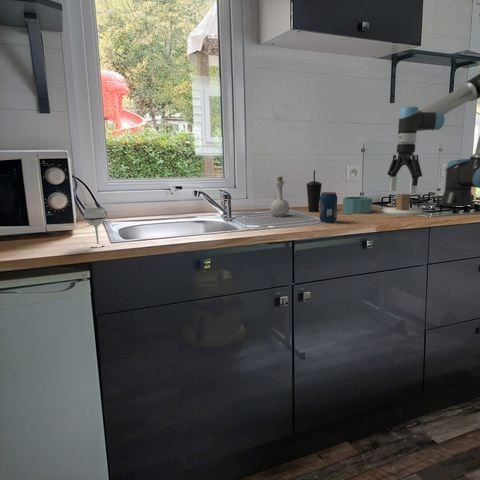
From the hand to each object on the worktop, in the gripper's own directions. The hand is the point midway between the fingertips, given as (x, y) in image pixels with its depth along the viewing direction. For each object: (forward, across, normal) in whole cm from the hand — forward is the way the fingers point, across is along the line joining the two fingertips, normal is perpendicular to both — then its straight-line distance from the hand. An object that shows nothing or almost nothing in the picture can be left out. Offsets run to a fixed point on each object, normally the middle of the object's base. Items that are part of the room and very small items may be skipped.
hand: (402, 192), depth 175 cm
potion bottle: (+11, -17, -52) cm, 56 cm away
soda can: (+11, +7, -40) cm, 42 cm away
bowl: (+10, -10, -16) cm, 22 cm away
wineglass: (+12, +21, -129) cm, 132 cm away
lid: (+9, 0, 0) cm, 9 cm away
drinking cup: (+11, -23, -32) cm, 41 cm away
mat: (+10, 0, 0) cm, 10 cm away
